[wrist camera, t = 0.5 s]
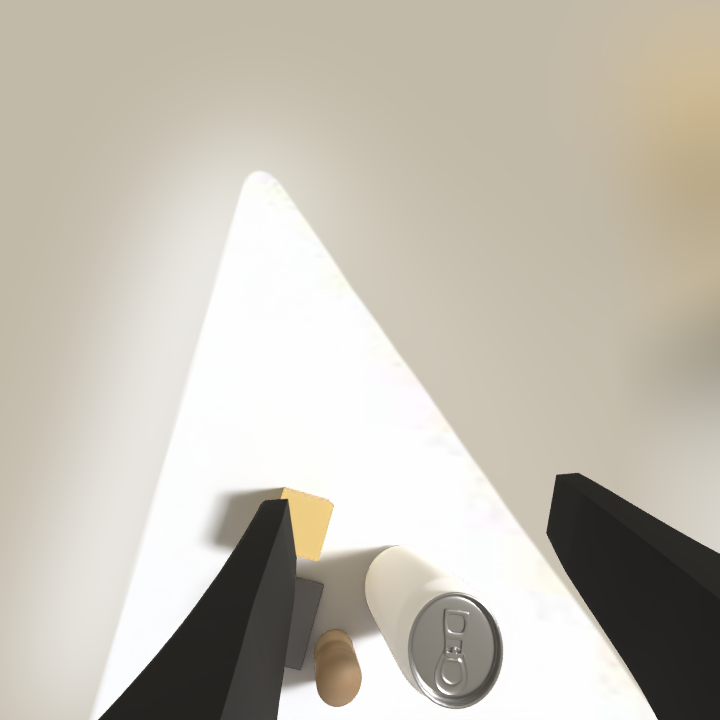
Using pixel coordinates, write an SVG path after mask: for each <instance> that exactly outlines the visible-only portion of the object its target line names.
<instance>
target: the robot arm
mask: <svg viewBox="0 0 720 720" xmlns="http://www.w3.org/2000/svg"><path fill="white" fill-rule="evenodd" d="M546 533H547V536H548V538H549V539H550V542H551V543H552V546H553V548H554V550H555V552H556V554H557V556H558V558H559V560H560V562H561V564H562V566H563V568H564V569H565V572H566V573H567V575H568V576H569V578H570V579H571V581H572V583H573V584H574V586H575V587H576V589H577V590H578V592H579V593H580V595H581V596H582V598H583V599H584V601H585V603H586V604H587V606H588V607H589V609H590V610H591V612H592V613H593V615H594V616H595V618H596V619H597V621H598V622H599V624H600V625H601V627H602V629H603V630H604V632H605V633H606V635H607V636H608V638H609V639H610V641H611V642H612V644H613V645H614V647H615V648H616V650H617V651H618V653H619V654H620V656H621V657H622V659H623V660H624V662H625V664H626V665H627V667H628V668H629V670H630V672H631V673H632V675H633V677H634V678H635V680H636V681H637V683H638V685H639V686H640V688H641V690H642V692H643V693H644V695H645V697H646V699H647V701H648V702H649V704H650V706H651V708H652V710H653V712H654V713H655V715H656V717H657V719H658V720H720V554H719V553H717V552H715V551H714V550H712V549H710V548H708V547H706V546H704V545H702V544H700V543H699V542H697V541H695V540H693V539H691V538H690V537H688V536H686V535H684V534H683V533H681V532H679V531H677V530H675V529H674V528H672V527H670V526H669V525H667V524H665V523H663V522H662V521H660V520H658V519H656V518H655V517H653V516H651V515H650V514H648V513H646V512H645V511H643V510H641V509H639V508H638V507H636V506H635V505H633V504H631V503H629V502H628V501H626V500H624V499H623V498H621V497H619V496H618V495H616V494H615V493H613V492H611V491H610V490H608V489H606V488H604V487H603V486H601V485H599V484H598V483H596V482H594V481H592V480H591V479H589V478H587V477H585V476H583V475H581V474H579V473H572V474H561V475H556V480H555V486H554V492H553V498H552V503H551V509H550V515H549V520H548V526H547V532H546ZM296 558H297V557H296V550H295V543H294V536H293V529H292V522H291V515H290V508H289V501H288V499H277V500H266V501H264V502H263V503H262V504H261V505H260V507H259V509H258V511H257V512H256V514H255V516H254V518H253V520H252V521H251V523H250V525H249V526H248V528H247V530H246V532H245V533H244V535H243V536H242V538H241V540H240V541H239V543H238V545H237V546H236V548H235V549H234V551H233V552H232V554H231V555H230V557H229V558H228V560H227V561H226V563H225V565H224V566H223V568H222V569H221V571H220V572H219V574H218V575H217V577H216V578H215V579H214V581H213V582H212V584H211V585H210V586H209V588H208V589H207V591H206V592H205V593H204V595H203V596H202V597H201V599H200V600H199V602H198V603H197V604H196V606H195V607H194V608H193V610H192V611H191V612H190V614H189V615H188V616H187V618H186V619H185V620H184V622H183V623H182V624H181V625H180V627H179V628H178V629H177V630H176V632H175V633H174V634H173V636H172V637H171V638H170V639H169V640H168V642H167V643H166V644H165V645H164V646H163V648H162V649H161V650H160V651H159V652H158V654H157V655H156V656H155V657H154V658H153V660H152V661H151V662H150V663H149V664H148V665H147V666H146V668H145V669H144V670H143V671H142V672H141V673H140V674H139V676H138V677H137V678H136V679H135V680H134V681H133V682H132V683H131V685H130V686H129V687H128V688H127V689H126V690H125V691H124V692H123V694H122V695H121V696H120V697H119V698H118V699H117V700H116V701H115V702H114V703H113V704H112V706H111V707H110V708H109V709H108V710H107V711H106V712H105V713H104V714H103V715H102V716H101V717H100V718H99V719H98V720H277V715H278V707H279V700H280V693H281V686H282V680H283V673H284V666H285V660H286V653H287V647H288V640H289V633H290V626H291V620H292V613H293V606H294V599H295V581H296Z"/></svg>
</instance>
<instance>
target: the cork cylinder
mask: <svg viewBox="0 0 720 720" xmlns="http://www.w3.org/2000/svg"><path fill="white" fill-rule="evenodd" d="M314 663H315V674H316V685H317V690H318V693H319V695H320V697H321V699H322V700H323V701H324V702H325V703H326V704H328V705H330V706H334V707H340V706H344V705H346V704H348V703H349V702H351V701H352V700H353V699H354V698H355V696H356V695H357V693H358V691H359V689H360V686H361V679H362V676H361V670H360V666H359V663H358V660H357V657H356V653H355V650H354V647H353V644H352V641H351V639H350V638H349V636H348V635H347V634H346V633H344V632H342V631H340V630H331V631H328V632H326V633H325V634H323V635H322V636H321V637H320V638H319V640H318V641H317V643H316V646H315V649H314Z"/></svg>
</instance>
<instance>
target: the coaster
mask: <svg viewBox="0 0 720 720" xmlns="http://www.w3.org/2000/svg"><path fill="white" fill-rule="evenodd" d="M322 590H323V584H319V583H315V582H312V581H308V580H304V579H301V578H297V577H296V581H295V599H294V606H293V613H292V620H291V626H290V633H289V640H288V647H287V653H286V660H285V667H289V668H293V669H297V670H301V667H302V663H303V660H304V656H305V652H306V649H307V645H308V641H309V637H310V634H311V630H312V626H313V623H314V619H315V615H316V612H317V608H318V604H319V601H320V597H321V593H322Z"/></svg>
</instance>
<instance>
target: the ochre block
mask: <svg viewBox="0 0 720 720" xmlns="http://www.w3.org/2000/svg"><path fill="white" fill-rule="evenodd" d="M281 499H288V501H289V508H290V515H291V522H292V529H293V536H294V543H295V550H296V556H299V557H303V558H306V559H310V560H314V561H317V562H318V560H319V557H320V553H321V550H322V546H323V542H324V539H325V535H326V532H327V528H328V525H329V521H330V517H331V514H332V510H333V507H334V505H333V504H332V503H331V502H330V501H329V500H328V499H325V498H321V497H318V496H314V495H311V494H307V493H304V492H300V491H297V490H293V489H290V488H286V487H285V488H284V490H283V492H282V495H281Z"/></svg>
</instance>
